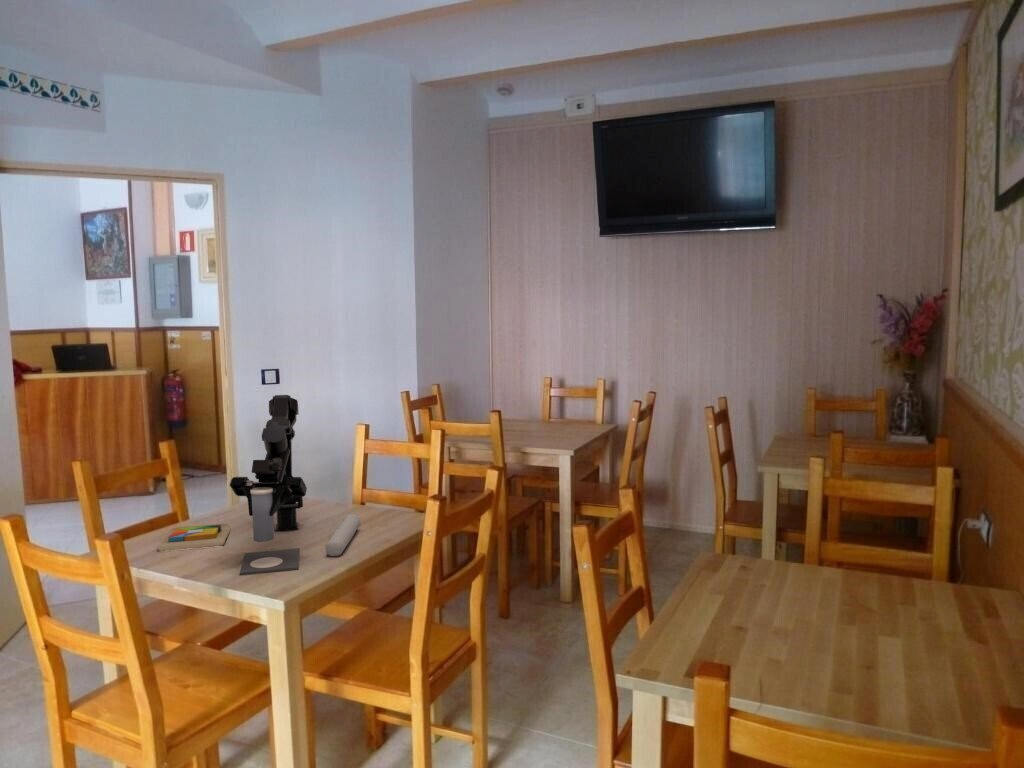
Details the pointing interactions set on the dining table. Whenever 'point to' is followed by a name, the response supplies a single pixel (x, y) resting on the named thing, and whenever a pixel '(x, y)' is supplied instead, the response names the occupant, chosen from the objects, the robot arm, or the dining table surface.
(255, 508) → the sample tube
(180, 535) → the wooden puzzle
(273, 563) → the mat
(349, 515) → the tube
